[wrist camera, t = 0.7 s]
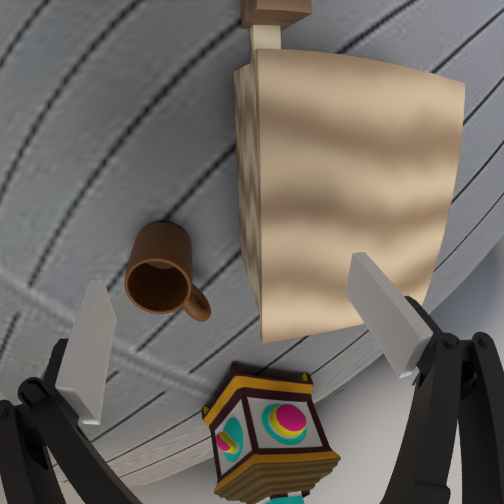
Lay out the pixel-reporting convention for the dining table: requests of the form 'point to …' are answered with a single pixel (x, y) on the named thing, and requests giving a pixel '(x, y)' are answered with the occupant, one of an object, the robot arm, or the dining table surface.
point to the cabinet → (340, 180)
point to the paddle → (270, 20)
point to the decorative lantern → (267, 439)
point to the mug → (164, 273)
